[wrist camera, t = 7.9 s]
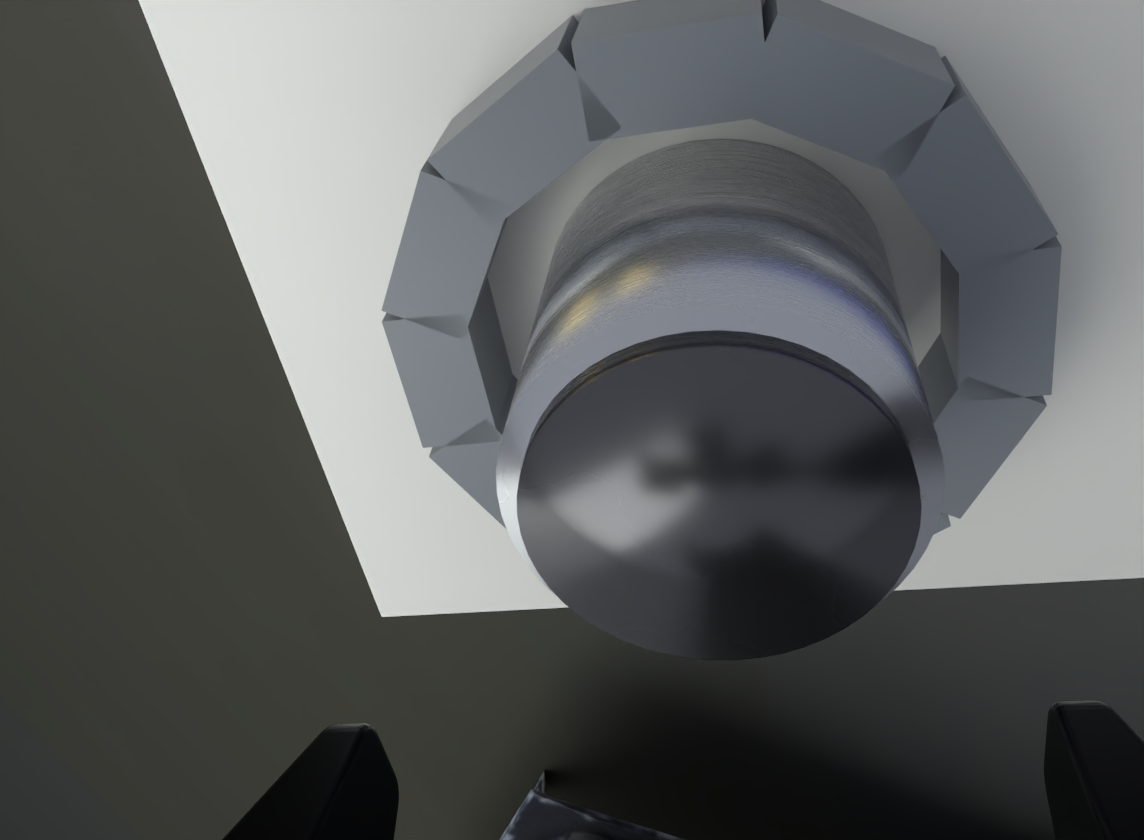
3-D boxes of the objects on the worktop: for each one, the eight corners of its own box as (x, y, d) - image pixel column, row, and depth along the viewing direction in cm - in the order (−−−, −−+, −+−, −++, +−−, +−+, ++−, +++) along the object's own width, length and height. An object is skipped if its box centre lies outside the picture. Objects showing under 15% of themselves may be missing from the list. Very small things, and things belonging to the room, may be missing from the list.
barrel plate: (1276, -275, 12) (1386, -260, 10) (1157, 536, 19) (1208, 643, 17) (155, -56, 15) (65, -11, 13) (394, 580, 22) (359, 677, 20)
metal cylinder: (886, 113, 14) (953, 298, 10) (893, 425, 17) (949, 668, 13) (516, 164, 15) (440, 351, 11) (579, 450, 18) (539, 684, 14)
